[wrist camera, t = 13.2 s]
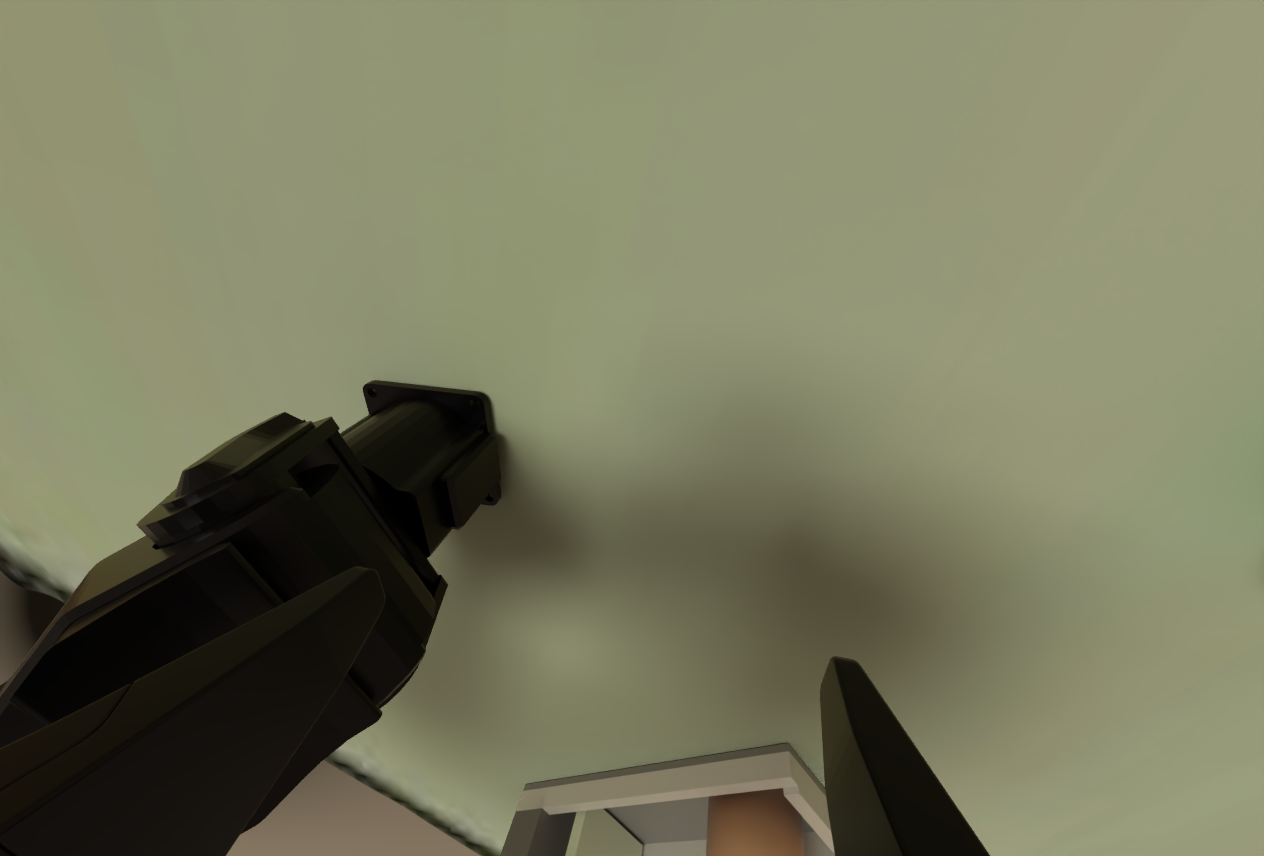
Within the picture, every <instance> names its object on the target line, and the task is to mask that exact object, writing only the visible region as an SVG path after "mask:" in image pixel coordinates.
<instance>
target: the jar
mask: <svg viewBox="0 0 1264 856" xmlns="http://www.w3.org/2000/svg"><path fill="white" fill-rule="evenodd" d="M706 856H806V855H805V845H804V835H803V825H802V816H801V814H800V813H799V812H798V811H797V810H796V809H795V807H794V806H793V805H792V804H791V803H790V802H789V801H788V799H787V798H786V797H785V796H784V791H783V788H777V789H769V790H760V791H751V792H743V793H734V794H725V795H717V796H708V818H707V840H706Z"/></svg>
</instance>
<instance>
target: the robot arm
mask: <svg viewBox="0 0 1264 856" xmlns="http://www.w3.org/2000/svg"><path fill="white" fill-rule="evenodd" d="M373 389H374V390H375V391H376V393H377V394H376V393H375V392H374V390H373ZM363 393H364V397H365V400H366V404H367V408H368V411H369V415H368V416H366V417H365V418H363V419H362V420H360V421H359V422H357V423H356V424H354V425H353V426H351V427H349V428H348V429H346V430H345V431H343V432H342V433H339V432H338V430H339V429H340V428H339V427H338V425H337V424H336V422H335V421H334V420H333V418H332V417H328V418H325V419H322V420H319V421H316V422H313V423H312V421H309V422H306V421H305V420H300V419H298V418H296V417H294V416H292V415H290V414H288V413H286V412H284V413H281V414H278V415H276V416H273V417H271V418H269V419H267V420H266V421H264V422H262V423H260V424H258V425H256V426H254V427H252V428H250V429H248V430H246V431H244V432H243V433H241V434H239V435H237V436H235V437H233V438H232V439H230V440H228V441H227V442H225V443H223V444H222V445H220V446H219V447H217V448H216V449H214V450H213V451H211V452H210V453H208V454H207V455H206V456H204V457H203V458H201V459H200V460H198V461H197V462H195V463H194V464H192V465H191V466H189V467H188V468H186V469H185V470H183V471H182V474H181V477H180V480H179V483H178V486H177V489H175V490H174V491H173V492H172V493H171V494H170V495H169V496H167V497H166V498H165V499H164V500H163V501H162V502H161V503H160V504H158V505H157V506H156V507H155V508H154V509H153V510H152V511H150V512H149V513H148V514H147V515H146V516H145V517H144V518H142V519H141V520H140V521H139V522H138V524H137V526H138V527H139V528H140V529H141V530H142V531H143V532H144V533H145V534H146V536H145V537H143V538H141V539H139V540H137V541H136V542H134V543H132V544H130V545H128V546H126V547H125V548H123V549H121V550H119V551H117V552H116V553H114V554H112V555H110V556H108V557H107V558H105V559H103V560H102V561H100V562H99V563H97V564H96V565H95V566H94V567H93V568H92V569H91V570H90V571H89V572H88V574H87V575H86V577H85V578H84V579H83V581H82V582H81V583H80V585H79V586H78V587H77V589H76V590H75V591H74V593H73V594H72V595H71V597H70V598H69V599H68V601H67V602H66V603H65V605H64V606H63V607H62V609H61V610H60V612H59V613H58V614H57V616H56V617H55V618H54V620H53V621H52V622H51V624H50V625H49V626H48V628H47V629H46V630H45V632H44V633H43V634H42V636H41V637H40V639H39V640H38V641H37V643H36V644H35V645H34V647H33V648H32V649H31V651H30V652H29V653H28V655H27V656H26V657H25V659H24V660H23V661H22V663H21V664H20V665H19V667H18V668H17V670H16V671H15V672H14V673H13V675H12V676H11V677H10V678H9V680H8V681H6V682H5V683H3V684H2V685H0V856H226V854H227V853H228V852H229V850H230V849H231V847H232V846H233V844H234V843H235V841H236V840H237V838H238V837H239V835H240V834H242V833H244V832H245V831H247V830H249V829H250V828H252V827H254V826H256V825H257V824H259V823H260V822H261V821H262V820H263V819H264V818H266V816H268V814H269V813H270V812H271V811H272V810H273V809H274V808H275V807H276V806H277V805H278V804H279V803H280V802H281V801H282V800H283V799H284V798H285V797H286V796H287V795H288V794H289V793H290V792H291V791H292V790H293V789H294V788H295V787H296V786H297V785H298V784H299V783H300V782H301V780H303V779H304V778H305V777H306V776H307V775H308V774H309V773H310V772H311V771H312V770H313V769H314V768H315V767H316V766H317V765H318V764H319V763H320V762H321V761H323V760H324V759H325V758H326V757H327V756H329V755H330V754H331V753H332V752H334V751H335V750H336V749H337V748H339V747H340V746H341V745H342V744H344V743H345V742H346V741H347V740H349V739H350V738H352V737H353V736H355V735H357V734H358V733H360V732H361V731H363V730H365V729H366V728H368V727H369V726H371V725H373V724H374V723H376V722H377V721H378V720H379V719H380V717H381V716H382V711H381V710H380V708H381V707H383V706H384V705H385V704H387V703H388V702H389V701H390V700H391V699H392V698H393V697H394V696H395V695H396V694H397V693H398V692H399V691H400V690H401V689H402V688H403V687H404V686H405V684H406V683H407V682H408V681H409V680H410V678H411V677H412V675H413V674H414V672H415V671H416V669H417V668H418V665H419V663H420V662H421V660H422V659H423V657H424V654H425V651H426V645H427V642H428V640H429V637H430V634H431V631H432V628H433V625H434V623H435V620H436V617H437V614H438V611H439V609H440V606H441V603H442V600H443V597H444V594H445V592H446V589H447V586H448V584H447V583H446V581H445V580H444V578H443V577H442V576H441V575H438V574H437V572H436V571H435V570H434V568H433V567H432V565H431V564H430V562H429V561H428V559H427V558H428V557H430V555H431V554H432V553H433V552H434V551H435V549H436V548H437V547H438V546H439V544H440V543H441V542H442V541H443V540H444V538H445V537H446V536H447V535H448V533H449V532H450V531H451V530H452V529H457V530H459V529H460V528H461V527H463V526H464V525H465V523H466V522H467V521H468V520H469V518H470V517H471V516H472V514H473V513H474V512H475V511H476V509H477V508H478V507H479V506H480V504H484V505H495V504H497V502H498V501H499V500H500V498H501V490H500V483H499V480H500V479H501V474H500V467H499V459H498V452H497V445H496V438H495V437H494V435H493V433H492V426H491V419H490V411H489V404H488V400H487V398H486V397H485V395H483V394H482V393H480V392H475V391H466V390H457V389H448V388H439V387H430V386H421V385H412V384H403V383H394V382H385V381H376V380H374V381H370V382H369V383H367V384H365V385H364V387H363ZM474 400H476V401H477V402H478V403H479V405H480V406H478V405H476V404H475V403H474ZM489 494H490V495H491V496H493V497H491V496H490V495H489ZM820 703H821V721H822V740H823V759H824V777H825V791H826V800H827V807H828V814H829V821H830V827H831V833H832V840H833V846H834V853H835V856H990V855H989V853H988V852H987V850H986V849H985V847H984V846H983V844H982V843H981V841H980V840H979V839H978V837H977V836H976V834H975V833H974V831H973V830H972V828H971V827H970V825H969V824H968V822H967V821H966V819H965V818H964V817H963V815H962V814H961V812H960V811H959V809H958V808H957V806H956V805H955V803H954V802H953V800H952V799H951V797H950V796H949V795H948V793H947V792H946V790H945V789H944V787H943V786H942V784H941V783H940V781H939V780H938V778H937V777H936V775H935V774H934V773H933V771H932V770H931V768H930V767H929V765H928V764H927V762H926V761H925V759H924V758H923V756H922V755H921V753H920V752H919V751H918V749H917V748H916V746H915V745H914V743H913V742H912V740H911V739H910V737H909V736H908V734H907V733H906V731H905V730H904V729H903V727H902V726H901V724H900V723H899V721H898V720H897V718H896V717H895V715H894V714H893V712H892V711H891V709H890V708H889V707H888V705H887V704H886V702H885V701H884V699H883V698H882V696H881V695H880V693H879V692H878V690H877V689H876V687H875V686H874V684H873V683H872V682H871V680H870V679H869V677H868V676H867V674H866V673H865V671H864V670H863V668H862V667H861V666H860V664H859V663H858V662H857V661H855V660H853V659H848V658H842V657H837V656H834V657H832V658H831V659H830V661H829V664H828V666H827V669H826V672H825V675H824V678H823V681H822V684H821V690H820Z"/></svg>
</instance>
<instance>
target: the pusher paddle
mask: <svg viewBox="0 0 1264 856" xmlns="http://www.w3.org/2000/svg"><path fill="white" fill-rule="evenodd" d="M642 849H643V845H642V844H640V843H639V842H638V841H637V840H636V839H635V838H634V837H633V836H632V835H631V834H630V833H629V832H628V831H627V830H625V829H624V828H623V827H622V826H621V825H620V824H619V823H618V822H617V821H616V820H615V819H614V818H613V817H612V816H610V815H609V814H608V813H607V812H606V811H605V810H604V809H596V810H587V811H578V812H577V813H576V816H575V820H574V824H573V828H572V832H571V836H570V839H569V843H568V847H567V851H566V855H565V856H641V855H642Z"/></svg>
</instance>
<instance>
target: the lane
mask: <svg viewBox="0 0 1264 856" xmlns="http://www.w3.org/2000/svg"><path fill="white" fill-rule="evenodd" d="M777 788H783V791H784V796H785V797H786V798H787V799H788V801H789V802H790V803H791V804H792V805H793V806H794V807H795V809H796V810H797V811H798V812H799V813H800V814H801V816H802V825H803V835H804V845H805V855H806V856H835V853H834V846H833V840H832V833H831V827H830V821H829V814H828V807H827V800H826V791H825V788H824V787H823V785H822V784H821V783H820V782H819V780H818V779H817V778H816V777H815V776H814V774H813V773H812V772H811V771H810V769H809V768H808V767H807V766H806V764H805V763H804V762H803V761H802V759H801V758H800V757H799V756H798V754H797V753H796V752H795V751H794V750H793V748H792V747H791V746H790V745H789V743H785V744H778V745H772V746H766V747H759V748H753V749H747V750H740V751H734V752H728V753H721V754H715V755H709V756H702V757H696V758H690V759H683V760H677V761H671V762H664V763H658V764H652V765H645V766H639V767H633V768H626V769H620V770H614V771H607V772H601V773H595V774H588V775H582V776H576V777H569V778H563V779H557V780H550V781H544V782H538V783H531V784H526V785H525V788H524V790H523V793H522V796H521V799H520V802H519V804H518V807H517V810H516V813H515V816H514V818H513V821H512V824H511V827H510V830H509V833H508V835H507V838H506V841H505V844H504V847H503V849H502V852H501V855H500V856H565V855H566V851H567V847H568V843H569V839H570V836H571V832H572V828H573V824H574V820H575V816H576V813H577V812H578V811H587V810H596V809H604V810H605V811H606V812H607V813H608V814H609V815H610V816H612V817H613V818H614V819H615V820H616V821H617V822H618V823H619V824H620V825H621V826H622V827H623V828H624V829H625V830H627V831H628V832H629V833H630V834H631V835H632V836H633V837H634V838H635V839H636V840H637V841H638V842H639V843H640V844H642V845H643V849H642V855H641V856H706V840H707V818H708V796H717V795H725V794H734V793H743V792H751V791H760V790H769V789H777Z"/></svg>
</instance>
